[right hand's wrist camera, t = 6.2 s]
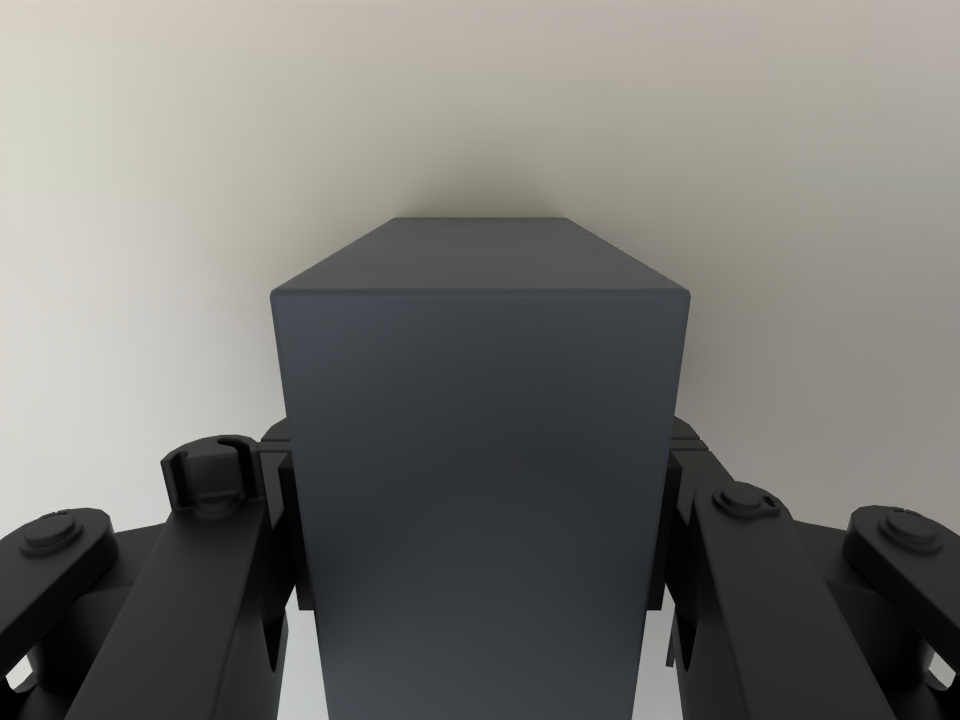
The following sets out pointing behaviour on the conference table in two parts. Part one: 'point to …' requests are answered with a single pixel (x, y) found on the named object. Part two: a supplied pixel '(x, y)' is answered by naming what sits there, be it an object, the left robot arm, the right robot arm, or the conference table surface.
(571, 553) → the bar
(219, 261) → the conference table surface
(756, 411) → the conference table surface
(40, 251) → the conference table surface
